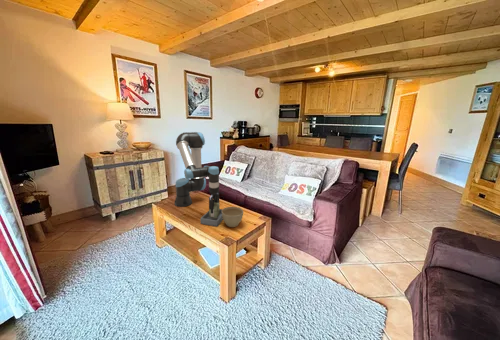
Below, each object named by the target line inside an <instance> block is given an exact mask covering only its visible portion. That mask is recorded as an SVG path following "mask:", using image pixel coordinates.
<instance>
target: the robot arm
mask: <svg viewBox="0 0 500 340" xmlns="http://www.w3.org/2000/svg"><path fill="white" fill-rule="evenodd" d="M205 142H206V140H205V136H204V134H203V133H202V132H197V131H190V132H185V131H184V132H181V133H180V134H179V135H178V136H177V138H176V139H175V145H176V148H177V150H179V153H180V156H181V159H182V162H183V164H184V167H185V169H184V171H183V173H184V177H181V178H178V179H176V181H175V186H174V187H175V199H174V206H175V207H177V208H178V207H180V208H183V207H189V206H191V205H192V204H193V200H192V197H191V195H190V193H193V192H199V191H204V190H205V188H206V186H207V179H206V178H205V177H208V192H209V193H210V196H209V197H208V209H210V210H211V217H214V202H216V203H220V178H219V177H220V168H219V166H215V165H212V166H209V165H204V166H202V149H203V147H204V146H205V144H206V143H205Z"/></svg>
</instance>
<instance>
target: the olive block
mask: <svg viewBox="0 0 500 340" xmlns="http://www.w3.org/2000/svg"><path fill="white" fill-rule="evenodd" d="M220 205H221V204H220V202H219V203H216V202H214V217H213V218H217V217H218V216H219V215H220V209H221V208H220ZM208 209H209V208H208ZM208 211H209V217H211V210H210V209H209V210H208Z"/></svg>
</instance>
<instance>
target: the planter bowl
mask: <svg viewBox="0 0 500 340" xmlns="http://www.w3.org/2000/svg"><path fill="white" fill-rule="evenodd" d="M222 217H223V222H224V223H225V225H226V226H227V227H229V228H234V227H235V228H236V227H238V226H239V224H240V223H241V221H242V219H243V217H244V210H243V209H242V208H241V207H238V206H227V207H224V208H223V210H222Z"/></svg>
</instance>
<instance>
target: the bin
mask: <svg viewBox="0 0 500 340" xmlns="http://www.w3.org/2000/svg"><path fill="white" fill-rule="evenodd" d="M223 209H224V208H223ZM223 209H222V208H220V215H219V216H218V217H217V218H213V217H209V210H208V211H207V212H206V213H204V214H203V215H202V216H201V218H200V225H205V226H211V227H217V228H218V226H219V225H221V223H222V222H224V220H223V217H222V210H223Z"/></svg>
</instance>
